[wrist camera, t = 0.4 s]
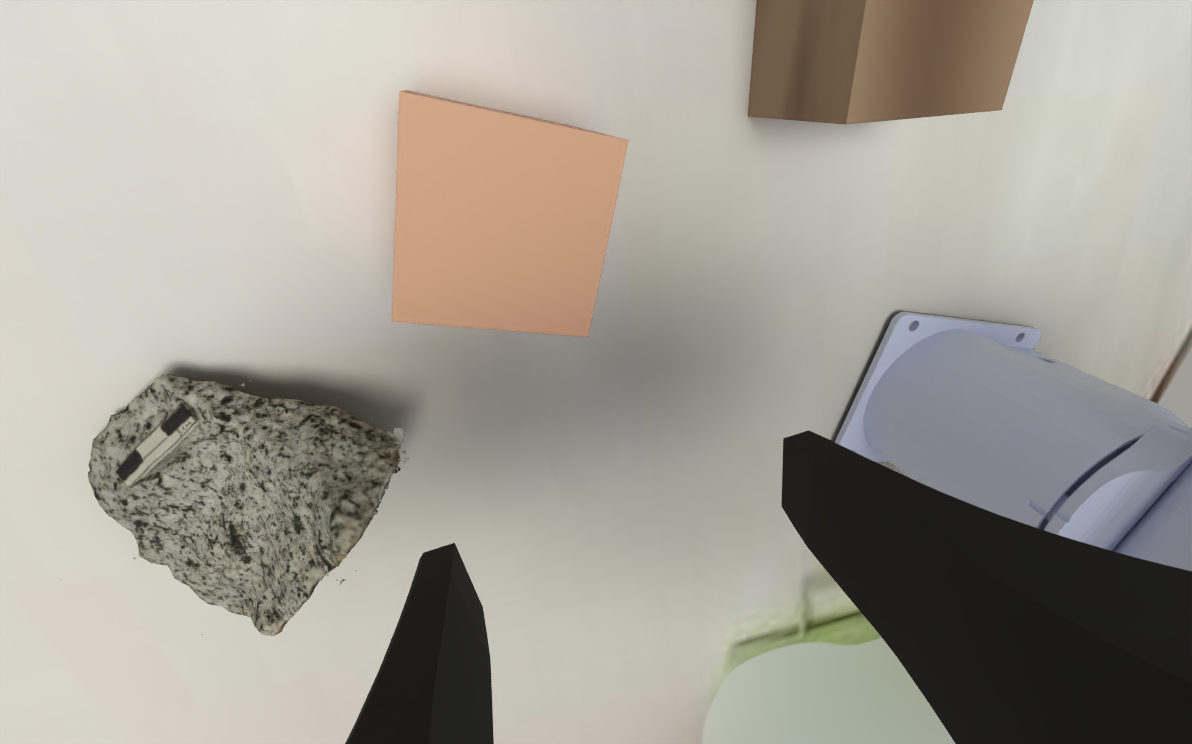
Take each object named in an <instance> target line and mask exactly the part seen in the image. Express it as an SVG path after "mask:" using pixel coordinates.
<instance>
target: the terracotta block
mask: <svg viewBox="0 0 1192 744" xmlns="http://www.w3.org/2000/svg"><path fill="white" fill-rule="evenodd" d="M628 141H629V140H625V139H621V138H617V137H613V136H609V135H605V134H601V133H598V132H594V131H590V130H586V129H582V128H578V127H574V126H569V125H564V124H560V123H555V122H550V121H546V120H541V119H537V118H532V117H527V116H523V115H518V114H513V113H509V112H504V111H500V110H495V109H490V108H486V107H481V106H476V105H472V104H467V103H463V102H458V101H453V100H449V99H444V98H440V97H435V96H430V95H426V94H421V93H416V92H412V91H400V93H399V123H398V153H397V182H396V212H395V242H394V272H393V302H392V322H405V323H418V324H431V325H443V326H456V327H469V328H482V329H494V330H507V331H520V332H533V333H545V334H558V335H571V336H584V337H588V334H589V330H590V325H591V320H592V315H593V310H594V305H595V301H596V296H597V291H598V286H599V281H600V276H601V271H602V267H603V262H604V257H605V252H606V247H607V242H608V237H609V233H610V228H611V223H612V218H613V213H614V208H615V204H616V199H617V194H618V189H619V184H620V179H621V174H622V170H623V165H624V160H625V155H626V150H627V145H628Z"/></svg>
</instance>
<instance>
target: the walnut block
mask: <svg viewBox="0 0 1192 744" xmlns="http://www.w3.org/2000/svg"><path fill="white" fill-rule="evenodd" d="M1033 1H1034V0H757V4H756V17H755V30H754V43H753V55H752V68H751V81H750V93H749V106H748V116H750V117H763V118H775V119H787V120H799V121H812V122H824V123H836V124H855V123H866V122H877V121H888V120H899V119H910V118H921V117H931V116H942V115H953V114H964V113H975V112H986V111H997V110H1002V107H1003V104H1004V101H1005V97H1006V94H1007V90H1008V87H1009V83H1010V80H1011V77H1012V73H1013V70H1014V66H1015V63H1016V59H1017V56H1018V52H1019V49H1020V46H1021V42H1022V39H1023V35H1024V32H1025V28H1026V25H1027V21H1028V18H1029V15H1030V11H1031V8H1032V4H1033Z"/></svg>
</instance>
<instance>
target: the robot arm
mask: <svg viewBox="0 0 1192 744" xmlns="http://www.w3.org/2000/svg"><path fill="white" fill-rule="evenodd" d="M910 324H911V325H910ZM1040 338H1041V331H1040V330H1038V329H1036V328H1033V327H1027V326H1019V325H1011V324H1002V323H994V322H986V321H977V320H969V319H961V318H953V317H944V316H936V315H928V314H919V313H911V312H900V313H898V314H896V315H895V316H894V317H893V319H892V320H891V322H890V324H889V327H888V329H887V331H886V333H885V335H884V337H883V339H882V342H881V344H880V346H879V348H878V350H877V352H876V354H875V357H874V359H873V361H872V363H871V365H870V367H869V369H868V372H867V374H866V376H865V378H864V380H863V382H862V384H861V387H860V389H859V391H858V393H857V395H856V397H855V399H854V402H853V404H852V406H851V408H850V410H849V412H848V414H847V417H846V419H845V421H844V423H843V425H842V427H841V429H840V432H839V434H838V436H837V438H836V440H835V442H833V441H831V440H828V439H826V438H824V437H822V436H820V435H818V434H815V433H813V432H811V431H806V432H803V433H799V434H796V435H793V436H790V437H787V438H784V440H783V476H782V508H783V509H784V511H785V513H786V514H787V516H788V518H789V519H790V521H791V522H792V524H793V526H794V527H795V529H796V530H797V532H798V533H799V535H800V536H801V538H802V539H803V541H804V542H805V544H806V545H807V547H808V548H809V549H810V551H811V552H812V553H813V554H814V556H815V557H816V558H817V559H818V561H819V562H820V563H821V564H822V565H823V567H824V568H825V569H826V570H827V572H828V573H829V574H830V575H831V576H832V578H833V579H834V580H835V581H836V582H837V584H838V585H839V586H840V587H841V589H842V590H843V591H844V592H845V593H846V595H847V596H848V597H849V598H850V599H851V601H852V602H853V603H854V604H855V605H856V607H857V608H858V609H859V610H860V611H861V613H862V614H863V615H864V616H865V617H866V619H867V620H868V621H869V622H870V623H871V625H872V626H873V627H874V628H875V629H876V631H877V632H878V633H879V634H880V635H881V637H882V638H883V639H884V641H886V643H887V644H888V646H889V647H890V648H891V650H892V651H893V652H894V654H895V655H896V656H897V657H898V659H899V660H900V662H901V663H902V665H903V666H904V668H905V669H906V670H907V672H908V673H909V675H910V676H911V678H912V679H913V681H914V682H915V683H916V685H917V686H918V688H919V689H920V690H921V692H922V693H923V695H924V696H925V698H926V699H927V701H928V702H929V704H930V705H931V707H932V708H933V710H934V711H935V713H936V714H937V716H938V717H939V719H940V720H941V722H942V723H943V725H944V726H945V728H946V729H947V731H948V733H949V734H950V735H951V737H952V739H953V740H954V742H955V743H956V744H1192V428H1189V427H1188V426H1187V425H1186V424H1185V423H1184V422H1183V421H1182V420H1181V419H1180V418H1179V417H1178V416H1176V415H1175V414H1173V413H1172V412H1171V411H1169V410H1167V409H1166V408H1164V407H1162V406H1160V405H1159V404H1157V403H1154V402H1152V401H1150V400H1148V399H1145V398H1143V397H1141V396H1138V395H1136V394H1134V393H1131V392H1129V391H1127V390H1125V389H1122V388H1120V387H1118V386H1115V385H1113V384H1111V383H1108V382H1106V381H1104V380H1101V379H1099V378H1097V377H1094V376H1092V375H1090V374H1088V373H1085V372H1083V371H1081V370H1078V369H1076V368H1074V367H1071V366H1069V365H1067V364H1064V363H1062V362H1060V361H1058V360H1055V359H1053V358H1051V357H1048V356H1046V355H1044V354H1041V353H1039V352H1037V351H1034V348H1035V347H1036V345H1037V344H1038V342H1039V340H1040ZM876 462H890V463H892V464H893V465H894V466H895V467H896V468H898V469H899V470H900V471H901V472H903V473H904V474H905V475H906V476H908V477H906V476H904V475H902V474H900V473H898V472H896V471H893V470H891V469H889V468H887V467H885V466H883V465H881V464H878V463H876ZM345 744H494V743H493V715H492V688H491V664H490V653H489V646H488V639H487V632H486V626H485V619H484V612H483V607H482V605H481V602H480V600H479V598H478V596H477V593H476V591H475V589H474V586H473V584H472V582H471V579H470V577H469V575H468V573H467V570H466V568H465V566H464V563H463V561H462V559H461V557H460V554H459V552H458V550H457V547H456V545H455V543H453V544H450V545H447V546H443V547H440V548H437V549H434V550H431V551H428V552H425V553H423V555H422V556H421V558H420V560H419V563H418V566H417V570H416V573H415V576H414V579H413V582H412V585H411V588H410V591H409V594H408V597H407V599H406V602H405V605H404V608H403V611H402V613H401V616H400V619H399V622H398V624H397V627H396V629H395V632H394V634H393V637H392V639H391V642H390V644H389V647H388V649H387V652H386V654H385V657H384V660H383V662H382V664H381V667H380V669H379V672H378V674H377V676H376V678H375V681H374V683H373V685H372V687H371V690H370V692H369V694H368V696H367V698H366V701H365V703H364V705H363V707H362V709H361V712H360V714H359V716H358V718H357V721H356V723H355V725H354V727H353V729H352V731H351V733H350V735H349V737H348V739H347V741H346V743H345Z"/></svg>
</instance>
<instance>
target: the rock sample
mask: <svg viewBox="0 0 1192 744" xmlns="http://www.w3.org/2000/svg"><path fill="white" fill-rule="evenodd" d="M250 381H252V380H250ZM250 381H249V382H250ZM239 386H245V383H243V384H241V385H239ZM372 421H373V418H372ZM393 431H394V432H393V433H392V434H391V433H390V432H389V431H387V432H385V431H383V430H381V429H378V428H373V427H371V426H370V425H368V424H366V423H365V422H363V421H361V420H358V419H357V418H356V415H354V414H352V413H349V412H346V411H344V410H341V409H339V408H338V407H336V406H327V405H318V404H311V403H308V402H307V401H304V400H297V399H284V398H274V399H267V398H263V397H259V396H255V395H251V394H246V393H242V392H240V391H238V390H237V389H235V388H233V387H231V386H229V385H225V384H219V383H217V382H214V381H194V380H191V379H188V378H185V377H176V376H173V375H171V374H168V375H164V374H163V375H161V376H160V377H158V378H156V380H155V381H154V383H153V384H152V385H150V386H148V387H147V389H146V390H145V392H143V393H142V394H141V395H140V396H138V397H137V398H135V399H134V400H133V401H132V402H130V403H129V404H128V406H127V408H126V409H125V410H124V411H123V412H121V413H118V414H115V415H111V417H110V420H109V423H108V425H107V427H106V428H105V429H104V430H103V431H102V432H101V433H99V435H98V436H97V437H96V438H95V439H94V440H93V444H92V451H91V460H90V462H89V467H90V471H89V472H88V477H89V482H90V484H91V486H92V489H93V491H94V494H95V497H96V499H97V501H98V503H99V505H100V506H101V507H102V508H103V510H104V511H105V512H106V513H107V514H108V515H109V516H110V517H112V518H113V519H115V520H116V521H117V522H118V523H120V524H121V525H122V526H123V527H125V528H127V529H128V530H130V531H131V532H132V534H133V535H134V537H135V538H136V540H137V544H138V548H139V556H141V557H142V558H144V559H146V560H147V561H149V562H151V563H155V564H161V565H168V567H169V568H170V570H171V572H172V574H173V576H174V578H175V579H177V580H178V581H180V582H182V583H184V584H186V585H188V586H189V587H190V588H191V589H192V590H193V591H194V592H195V593H196V594H197V595H198V596H199V597H200V598H201V599H202V600H203V601H205V602H206V603H208V604H210V605H216V606H222V607H224V608H225V609H226V610H228V611H230V612H232V613H235V614H240V615H245V616H248V617H251V619H252V621H253V623H254V626H255V627H256V628H257V630H258V631H259V632H260V633H261V634H263V635H271V636H275V635H277V634H278V633H280V632H281V631H282V629H283V627H284V625H285V624H286V623H287V622H288V621H289V620H290V618H291V617H293V616H294V615H295V613H296V612H297V611H299V609H300V608H301V606H302V605H303V604H304V603H305V602H306V601H307V600H308V599H309V598H310V596H311V594H312V593H313V591H314V589H315V587H316V585H317V584H318V583H319V581H321V580H322V579H323V577H324V576H325V575H326V574H327V573H329V572H330V571H331V570H333V569H334V568H336V566H339V564H340V563H341V561H342V560H343V559H344V558H346V556H347V555H348V553H349V552H350V550H351V549H352V548H353V547H354V546H355V544H356V543H357V542H358V541H359V540H360V539H361V537H362V535H363V533H364V531H365V530H366V528H367V526H368V525H369V523H370V521H371V520H372V518H373V516H374V515H375V514H377V512H378V511H377V510H376V509H377V508H378V507H379V504H380V503H381V501H379V499H380V500H382V498H383V496H384V494H385V489H388V484H389V482H390V478H391V475H392V474H393V473H397V472H398V471H400V467H399V466H398V471H397V470H396V469H397V465H398V464H399V462H400V461H401V460H400V455H399V451H400V450H399V449H400V447H401V444H402V442H403V436H404V434H405V432H404V431H403V429H402V428H394V429H393ZM403 452H404V453H405V451H403ZM405 459H410V458H405ZM403 462H404V463H405V462H406V461H403ZM135 558H136V557H135ZM135 558H134V559H135ZM356 571H357V570H356ZM327 576H328V575H327ZM340 578H341V577H340ZM61 580H62V579H61ZM337 580H338V579H337ZM343 581H345V579H342V582H343ZM342 582H341V581H340V584H341V583H342ZM202 635H203V634H202Z"/></svg>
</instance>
